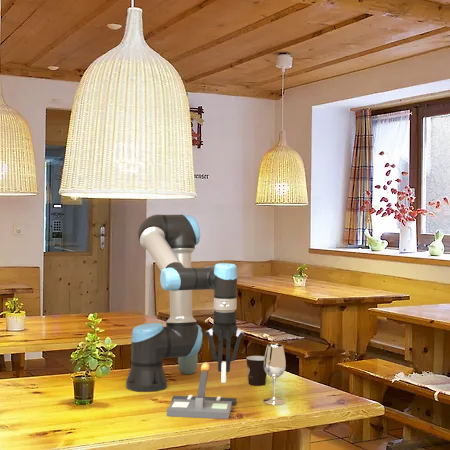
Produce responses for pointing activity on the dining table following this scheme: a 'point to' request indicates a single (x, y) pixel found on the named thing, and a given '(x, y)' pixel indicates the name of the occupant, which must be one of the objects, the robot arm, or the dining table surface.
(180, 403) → the breaker panel
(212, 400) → the dressed cords
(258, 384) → the coffee mug
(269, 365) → the wineglass
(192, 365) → the cup
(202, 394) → the breaker lever
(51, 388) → the dining table surface
